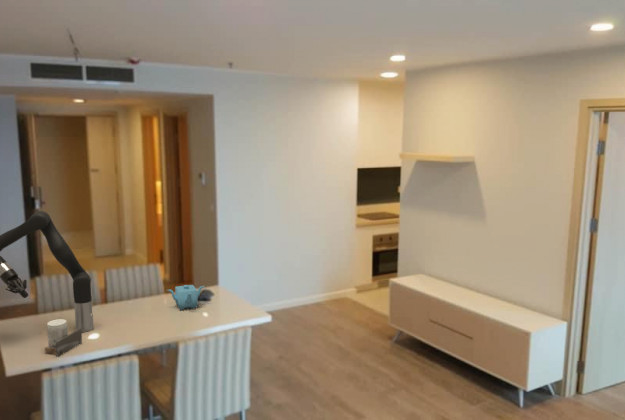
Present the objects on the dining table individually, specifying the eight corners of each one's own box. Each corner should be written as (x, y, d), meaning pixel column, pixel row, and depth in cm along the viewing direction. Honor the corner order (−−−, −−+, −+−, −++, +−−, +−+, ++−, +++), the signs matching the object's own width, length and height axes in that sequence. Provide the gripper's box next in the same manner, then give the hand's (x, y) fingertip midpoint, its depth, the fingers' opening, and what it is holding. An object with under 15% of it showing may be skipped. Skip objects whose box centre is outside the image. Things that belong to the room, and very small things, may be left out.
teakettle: (182, 300, 355) (182, 280, 353) (206, 304, 349) (206, 283, 346) (166, 309, 337) (165, 287, 335) (190, 313, 331) (190, 291, 329)
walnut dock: (43, 354, 268) (42, 339, 266) (67, 341, 285) (67, 327, 284) (58, 356, 265) (57, 342, 264) (82, 343, 283) (81, 329, 281)
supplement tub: (64, 343, 282) (63, 317, 280) (71, 348, 276) (70, 322, 273) (45, 348, 275) (44, 322, 273) (52, 353, 269) (50, 326, 266)
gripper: (-1, 271, 272) (20, 296, 271) (19, 265, 285) (39, 289, 284) (-8, 280, 274) (12, 304, 273) (12, 274, 287) (32, 297, 286)
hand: (26, 296), depth 278 cm, fingers closed
